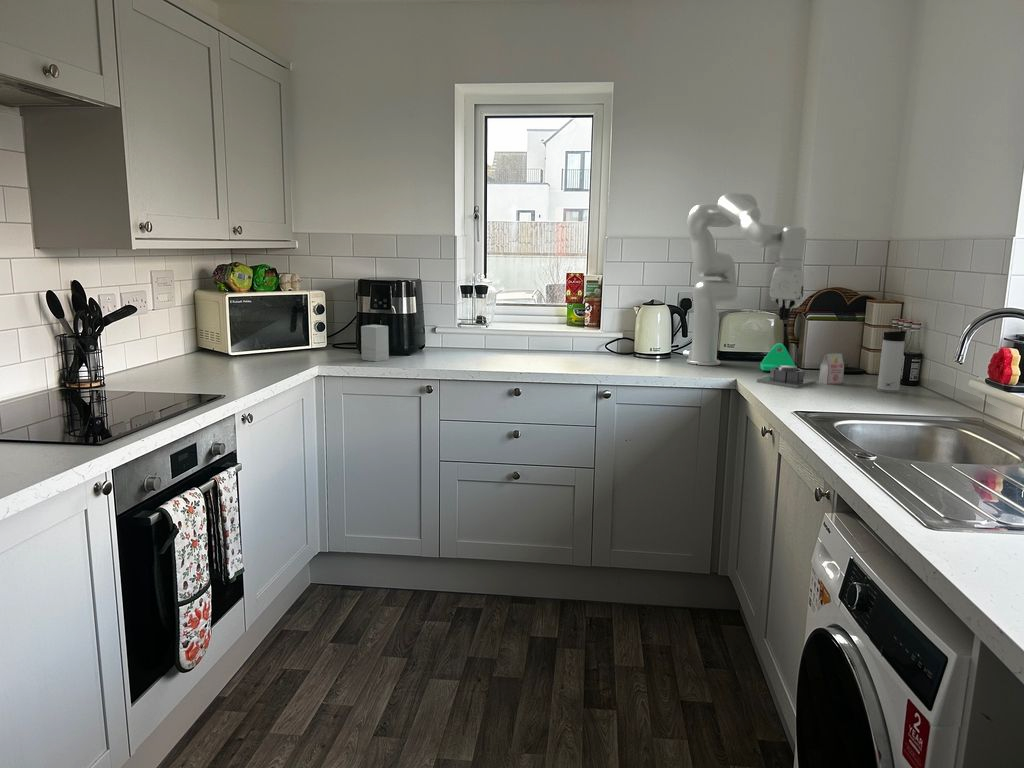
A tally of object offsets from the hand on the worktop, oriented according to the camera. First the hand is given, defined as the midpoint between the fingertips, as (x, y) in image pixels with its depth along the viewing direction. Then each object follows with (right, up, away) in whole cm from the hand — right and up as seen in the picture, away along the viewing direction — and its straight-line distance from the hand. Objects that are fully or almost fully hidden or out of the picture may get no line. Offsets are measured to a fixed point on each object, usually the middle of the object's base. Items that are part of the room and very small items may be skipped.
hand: (783, 319), depth 258 cm
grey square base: (+1, -21, 0) cm, 21 cm away
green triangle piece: (+6, -18, +22) cm, 29 cm away
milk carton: (+16, -22, +2) cm, 27 cm away
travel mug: (+29, -24, -12) cm, 40 cm away
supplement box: (-142, -13, +27) cm, 145 cm away
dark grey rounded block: (+1, -20, 0) cm, 20 cm away
